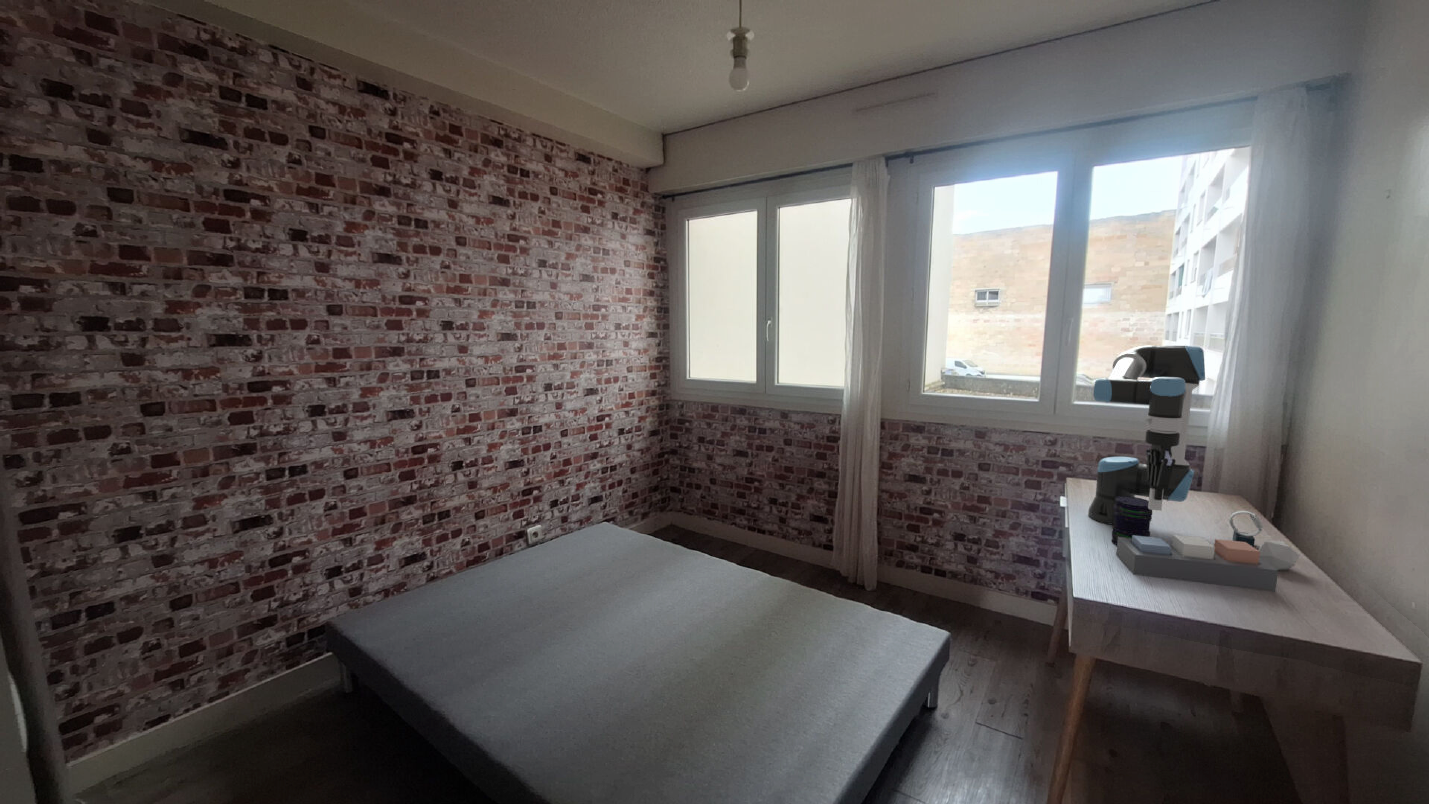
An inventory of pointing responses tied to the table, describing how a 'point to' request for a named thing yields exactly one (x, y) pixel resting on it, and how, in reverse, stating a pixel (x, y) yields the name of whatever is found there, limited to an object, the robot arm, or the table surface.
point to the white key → (1193, 547)
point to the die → (1278, 555)
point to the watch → (1241, 535)
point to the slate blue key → (1151, 544)
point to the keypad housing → (1197, 568)
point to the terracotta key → (1236, 551)
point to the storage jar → (1131, 518)
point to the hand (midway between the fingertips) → (1154, 509)
